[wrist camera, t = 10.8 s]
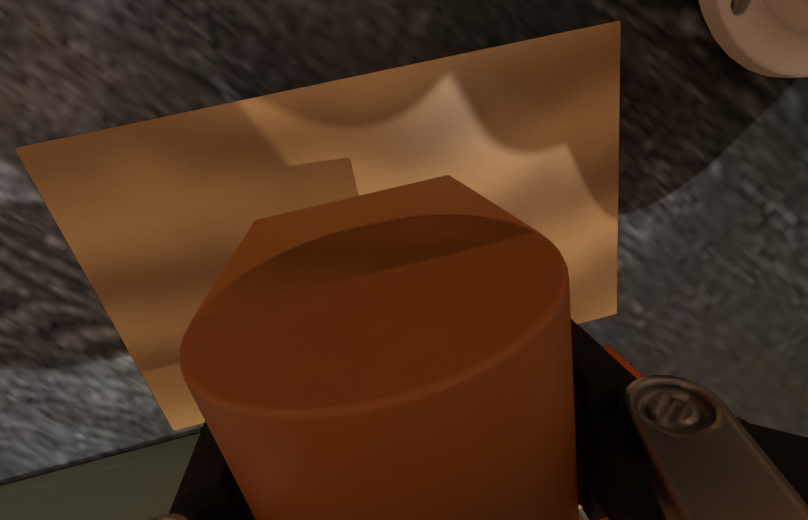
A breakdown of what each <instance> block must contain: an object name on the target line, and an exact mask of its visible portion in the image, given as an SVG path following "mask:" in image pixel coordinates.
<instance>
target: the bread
mask: <svg viewBox="0 0 808 520" xmlns="http://www.w3.org/2000/svg"><path fill="white" fill-rule="evenodd" d="M180 369H181V372H182V375H183V378H184V380H185V382H186V384H187V386H188V388H189V390H190V392H191V394H192V396H193V398H194V400H195V402H196V404H197V406H198V408H199V410H200V412H201V414H202V416H203V417H204V419H205V421H206V423H207V425H208V427H209V429H210V431H211V433H212V435H213V437H214V439H215V441H216V443H217V445H218V447H219V449H220V451H221V453H222V455H223V457H224V459H225V460H226V462H227V464H228V466H229V468H230V470H231V472H232V474H233V476H234V478H235V480H236V482H237V484H238V486H239V488H240V490H241V492H242V494H243V496H244V498H245V500H246V502H247V503H248V505H249V507H250V509H251V511H252V513H253V515H254V517H255V519H256V520H579V509H578V484H577V460H576V435H575V410H574V385H573V361H572V336H571V311H570V287H569V274H568V267H567V264H566V262H565V260H564V258H563V256H562V254H561V252H560V251H559V250H558V248H557V247H556V246H555V245H554V244H553V243H552V242H551V241H550V240H549V239H547V238H546V237H545V236H544V235H542V234H541V233H540V232H539V231H537V230H536V229H534V228H532V227H531V226H529V225H528V224H526V223H525V222H523V221H521V220H520V219H518V218H517V217H515V216H513V215H512V214H510V213H509V212H507V211H506V210H504V209H502V208H501V207H499V206H498V205H496V204H494V203H493V202H491V201H490V200H488V199H487V198H485V197H483V196H482V195H480V194H479V193H477V192H475V191H474V190H472V189H471V188H469V187H468V186H466V185H464V184H463V183H461V182H460V181H458V180H456V179H455V178H453V177H452V176H450V175H445V176H441V177H436V178H432V179H428V180H424V181H419V182H415V183H411V184H407V185H402V186H398V187H394V188H390V189H385V190H381V191H377V192H372V193H368V194H364V195H360V196H355V197H351V198H347V199H343V200H338V201H334V202H330V203H326V204H321V205H317V206H313V207H308V208H304V209H300V210H296V211H291V212H287V213H283V214H279V215H274V216H270V217H266V218H261V219H257V220H255V221H254V222H253V224H252V225H251V227H250V228H249V230H248V231H247V233H246V235H245V236H244V238H243V239H242V241H241V242H240V244H239V246H238V247H237V249H236V250H235V252H234V253H233V255H232V257H231V258H230V260H229V261H228V263H227V264H226V266H225V268H224V269H223V271H222V272H221V274H220V275H219V277H218V278H217V280H216V282H215V283H214V285H213V286H212V288H211V289H210V291H209V293H208V294H207V296H206V297H205V299H204V300H203V302H202V304H201V305H200V307H199V308H198V310H197V311H196V313H195V314H194V316H193V318H192V319H191V322H190V324H189V326H188V328H187V330H186V332H185V334H184V336H183V339H182V343H181V346H180Z"/></svg>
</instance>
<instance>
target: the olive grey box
mask: <svg viewBox="0 0 808 520" xmlns="http://www.w3.org/2000/svg"><path fill="white" fill-rule="evenodd" d="M199 435H200V433H198V434H194V435H190V436H186V437H183V438H179V439H175V440H171V441H168V442H164V443H160V444H156V445H153V446H149V447H145V448H141V449H138V450H134V451H130V452H126V453H122V454H119V455H115V456H111V457H107V458H104V459H100V460H96V461H92V462H89V463H85V464H81V465H77V466H74V467H70V468H66V469H62V470H59V471H55V472H51V473H47V474H44V475H40V476H36V477H32V478H29V479H25V480H21V481H17V482H14V483H10V484H6V485H2V486H0V520H150V519H152V518H155V517H157V516H160V515H165V514H169V511H170V509H171V506H172V504H173V501H174V499H175V496H176V494H177V491H178V489H179V486H180V483H181V481H182V478H183V476H184V473H185V471H186V468H187V466H188V463H189V461H190V458H191V456H192V453H193V450H194V448H195V445H196V443H197V440H198V438H199Z"/></svg>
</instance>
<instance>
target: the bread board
mask: <svg viewBox="0 0 808 520" xmlns="http://www.w3.org/2000/svg"><path fill="white" fill-rule="evenodd" d="M620 39H621V22H620V21H614V22H610V23H605V24H600V25H595V26H591V27H586V28H581V29H576V30H572V31H567V32H562V33H557V34H553V35H548V36H543V37H538V38H534V39H529V40H524V41H520V42H515V43H510V44H505V45H501V46H496V47H491V48H486V49H482V50H477V51H472V52H467V53H463V54H458V55H453V56H448V57H444V58H439V59H434V60H429V61H425V62H420V63H415V64H411V65H406V66H401V67H396V68H392V69H387V70H382V71H377V72H373V73H368V74H363V75H358V76H354V77H349V78H344V79H339V80H335V81H330V82H325V83H320V84H316V85H311V86H306V87H301V88H297V89H292V90H287V91H283V92H278V93H273V94H268V95H264V96H259V97H254V98H249V99H245V100H240V101H235V102H230V103H226V104H221V105H216V106H211V107H207V108H202V109H197V110H192V111H188V112H183V113H178V114H173V115H169V116H164V117H159V118H155V119H150V120H145V121H140V122H136V123H131V124H126V125H121V126H117V127H112V128H107V129H102V130H98V131H93V132H88V133H83V134H79V135H74V136H69V137H64V138H60V139H55V140H50V141H46V142H41V143H36V144H31V145H27V146H22V147H17V148H16V149H15V150H16V152H17V154H18V156H19V157H20V159H21V161H22V163H23V165H24V166H25V168H26V170H27V172H28V173H29V175H30V177H31V179H32V180H33V182H34V184H35V186H36V188H37V189H38V191H39V193H40V195H41V196H42V198H43V200H44V202H45V204H46V205H47V207H48V209H49V211H50V212H51V214H52V216H53V218H54V220H55V221H56V223H57V225H58V227H59V228H60V230H61V232H62V234H63V236H64V237H65V239H66V241H67V243H68V244H69V246H70V248H71V250H72V252H73V253H74V255H75V257H76V259H77V260H78V262H79V264H80V266H81V268H82V269H83V271H84V273H85V275H86V276H87V278H88V280H89V282H90V284H91V285H92V287H93V289H94V291H95V292H96V294H97V296H98V298H99V300H100V301H101V303H102V305H103V307H104V308H105V310H106V312H107V314H108V316H109V317H110V319H111V321H112V323H113V324H114V326H115V328H116V330H117V332H118V333H119V335H120V337H121V339H122V340H123V342H124V344H125V346H126V348H127V349H128V351H129V353H130V355H131V356H132V358H133V360H134V362H135V364H136V365H137V367H138V369H139V371H140V372H141V374H142V376H143V378H144V379H145V381H146V383H147V385H148V387H149V388H150V390H151V392H152V394H153V395H154V397H155V399H156V401H157V403H158V404H159V406H160V408H161V410H162V411H163V413H164V415H165V417H166V419H167V420H168V422H169V424H170V426H171V427H172V429H173V431H176V430H180V429H183V428H187V427H191V426H195V425H198V424H202V423H204V422H205V419H204V417H203V416H202V414H201V412H200V410H199V408H198V406H197V404H196V402H195V400H194V398H193V396H192V394H191V392H190V390H189V388H188V386H187V384H186V382H185V380H184V378H183V375H182V372H181V369H180V346H181V343H182V339H183V336H184V334H185V332H186V330H187V328H188V326H189V324H190V322H191V319H192V318H193V316H194V314H195V313H196V311H197V310H198V308H199V307H200V305H201V304H202V302H203V300H204V299H205V297H206V296H207V294H208V293H209V291H210V289H211V288H212V286H213V285H214V283H215V282H216V280H217V278H218V277H219V275H220V274H221V272H222V271H223V269H224V268H225V266H226V264H227V263H228V261H229V260H230V258H231V257H232V255H233V253H234V252H235V250H236V249H237V247H238V246H239V244H240V242H241V241H242V239H243V238H244V236H245V235H246V233H247V231H248V230H249V228H250V227H251V225H252V224H253V222H254V221H255V220H257V219H261V218H266V217H270V216H274V215H279V214H283V213H287V212H291V211H296V210H300V209H304V208H308V207H313V206H317V205H321V204H326V203H330V202H334V201H338V200H343V199H347V198H351V197H355V196H360V195H364V194H368V193H372V192H377V191H381V190H385V189H390V188H394V187H398V186H402V185H407V184H411V183H415V182H419V181H424V180H428V179H432V178H436V177H441V176H445V175H450V176H452V177H453V178H455V179H456V180H458V181H460V182H461V183H463V184H464V185H466V186H468V187H469V188H471V189H472V190H474V191H475V192H477V193H479V194H480V195H482V196H483V197H485V198H487V199H488V200H490V201H491V202H493V203H494V204H496V205H498V206H499V207H501V208H502V209H504V210H506V211H507V212H509V213H510V214H512V215H513V216H515V217H517V218H518V219H520V220H521V221H523V222H525V223H526V224H528V225H529V226H531V227H532V228H534V229H536V230H537V231H539V232H540V233H541V234H542V235H544V236H545V237H546V238H547V239H549V240H550V241H551V242H552V243H553V244H554V245H555V246H556V247H557V248H558V250H559V251H560V252H561V254H562V256H563V258H564V260H565V262H566V264H567V267H568V274H569V287H570V311H571V319H572V320H573V321H574V322H575V323H576V324H580V323H584V322H587V321H591V320H595V319H599V318H603V317H606V316H610V315H614V314H616V313H617V256H618V184H619V111H620Z"/></svg>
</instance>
